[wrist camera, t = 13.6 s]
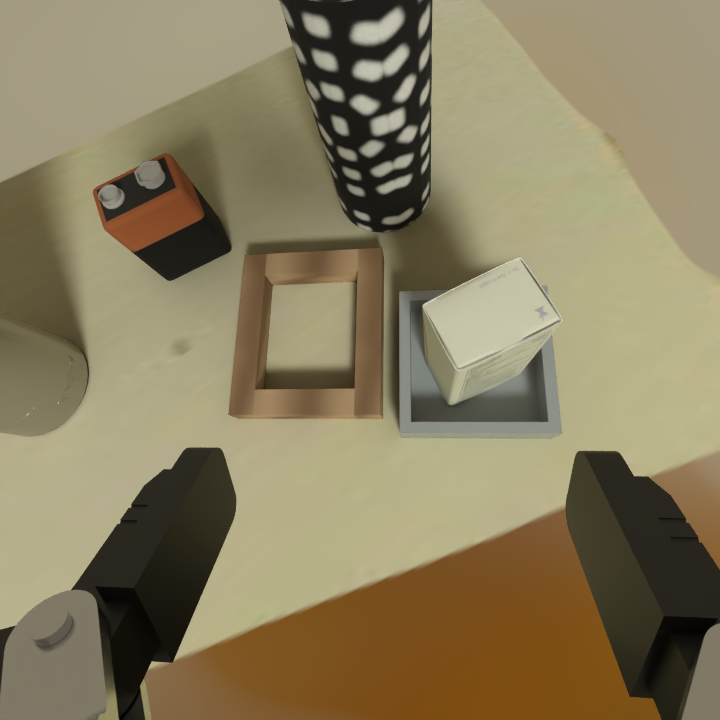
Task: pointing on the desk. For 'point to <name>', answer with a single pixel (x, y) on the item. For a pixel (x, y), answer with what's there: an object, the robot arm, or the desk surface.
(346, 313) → the desk surface
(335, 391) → the brown flat rectangular frame
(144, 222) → the battery
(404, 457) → the desk surface
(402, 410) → the tray
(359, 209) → the white-spotted black cylinder
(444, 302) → the skincare box
